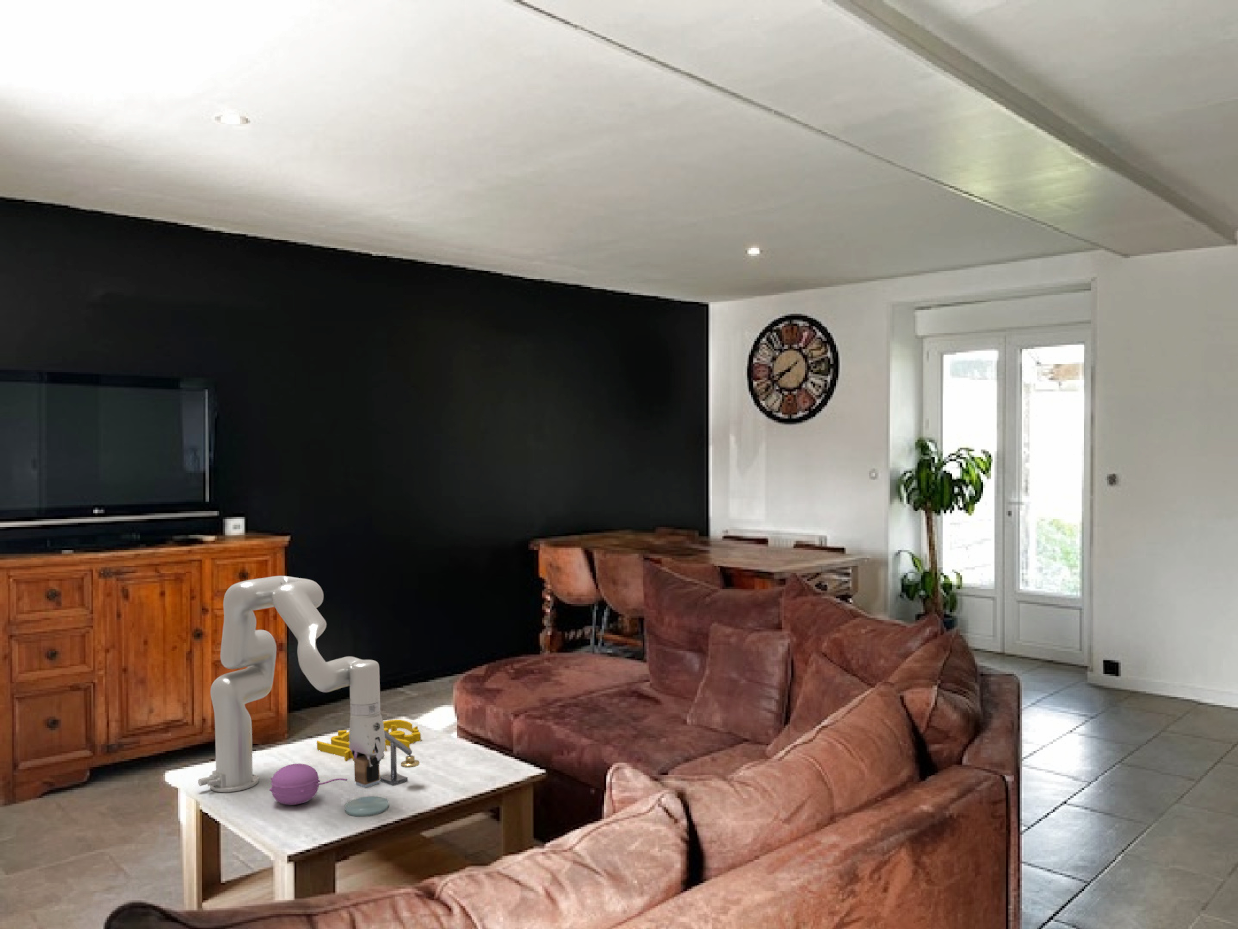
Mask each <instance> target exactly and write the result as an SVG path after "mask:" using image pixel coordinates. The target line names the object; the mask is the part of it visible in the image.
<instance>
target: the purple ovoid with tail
mask: <svg viewBox="0 0 1238 929" xmlns="http://www.w3.org/2000/svg"><path fill="white" fill-rule="evenodd" d="M319 778H320V777H319V774H318V772H317V770H316V769H315V768H314V767H313V766H312V765H309V764H307V763H306V764H305V763H291V764H287V765H285V766H282V767H281V768H279V769H278V770H276V772H275V773H274V774H273V776H272V777H270V780H271V782H270V784H271V787H270V788H269V791H271V794H272V797H273V799H274V800H275V801H277V802H278V803H280V804H282V805H287V806H289V805H290V806H295V805H300V804H303V803H306V802H308V801H310V800H312V799H313V798H314V796H315V795H316V794H317V792H318V790H319V787H320V786H324V785H325V784H326V785H327V784H328V783H331V782H336V781H346V782H347V781H348V779H347V778H341V777H340V778H333V779H330V780H327V781H324V782H321V780H320V779H319Z"/></svg>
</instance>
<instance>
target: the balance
mask: <svg viewBox="0 0 1238 929" xmlns="http://www.w3.org/2000/svg"><path fill="white" fill-rule="evenodd" d="M384 734H385V740H386V739H387V740H388V741H390V746H389V747H390V774H388V775H385V776H381V777H380V780H379V782H382V783H384V784H386V785H390V786H392V787H393V786H396V785H400V784H402V783H406V782H408V781H409V780H408V777H407V776H404V775H402V774H399V773H398V767H397V762H398V761H397V748H396V747H398V749H399V750H400V751H401V752H402V753H404V754H405V755H407V756H405V760H403V761H401V762H400V767H402V768H415V767H418V766H419V765H420V760H418V759H415V755H412V754H413V750H411V749H409V748H408V747H406V746H405V745H404V744H402V743H401V742H400V741H398V740H397V739H395V738H394V737H393V736H391V735H390V734H389V733H387V732H386V731H385V730H384Z"/></svg>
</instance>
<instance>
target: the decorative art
mask: <svg viewBox="0 0 1238 929" xmlns="http://www.w3.org/2000/svg"><path fill="white" fill-rule="evenodd" d="M383 725H384V730H385V731H386V732H387V733H389V734H390V735H391V736H393V737H394V738H395V739H397V740H398V741H400V742H401V743H402V744H404V745H405V746H406V747H408V748H409V749H410V746H411V745H413V744H414V743H415V742H421V735H422V734H421V731H420V730H419V728H418V725H417V726H414V727H413V723H412V722H409V721H408V720H404V719H388V720H385V721H383ZM398 729H404V730H407V731H409V732H411V734H406V732H405V731H402V730H398ZM389 730H390V731H389ZM349 744H350V742H349V731H348V730H347V729H342V730H341V729H340V730H337V735H334V736H332V737H331V738H330V743H328V742H322V741H320V740H316V750H317V751H319V750H320V751H319V752H322V753H326V754H330V755H334V754H335V756H338V757H344V762H347V761H348V760H349V759H351V760H352V761H353V762H354V756H353V754H352V751H351V750H350V748H349ZM387 746H388V747H390V741H388V740H387V739H386V740H385V751H384V752H387ZM397 748H398V747H396V749H397ZM398 749H399V748H398ZM410 750H411V749H410ZM373 753H374V751H373ZM383 759H384V757H383V758H382V759H381V760H383Z"/></svg>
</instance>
